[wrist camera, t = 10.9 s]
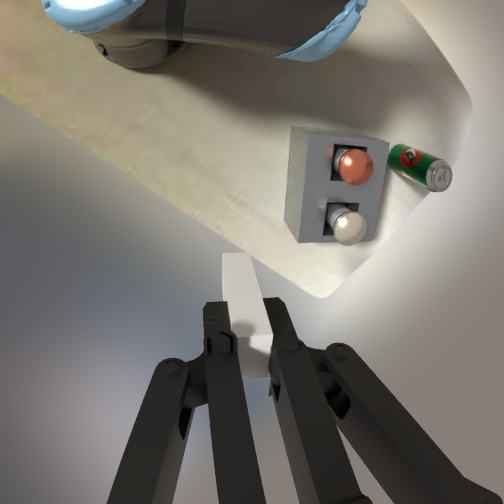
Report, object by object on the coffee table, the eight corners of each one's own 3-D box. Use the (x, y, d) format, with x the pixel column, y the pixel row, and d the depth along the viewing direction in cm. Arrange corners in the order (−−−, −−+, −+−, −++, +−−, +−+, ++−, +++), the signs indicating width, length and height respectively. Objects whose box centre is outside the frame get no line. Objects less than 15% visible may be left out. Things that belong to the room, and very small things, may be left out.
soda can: (384, 170, 47) (427, 193, 37) (388, 141, 45) (433, 159, 35) (407, 172, 48) (450, 195, 38) (411, 145, 46) (456, 163, 35)
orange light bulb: (319, 138, 41) (343, 148, 34) (348, 141, 42) (375, 152, 35) (317, 169, 43) (339, 185, 36) (345, 170, 44) (370, 186, 37)
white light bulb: (317, 192, 44) (338, 213, 37) (344, 193, 45) (369, 213, 38) (313, 221, 46) (333, 246, 39) (340, 221, 47) (363, 245, 40)
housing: (290, 126, 42) (308, 133, 35) (362, 133, 44) (389, 142, 37) (283, 220, 49) (297, 242, 42) (350, 219, 51) (372, 240, 44)
